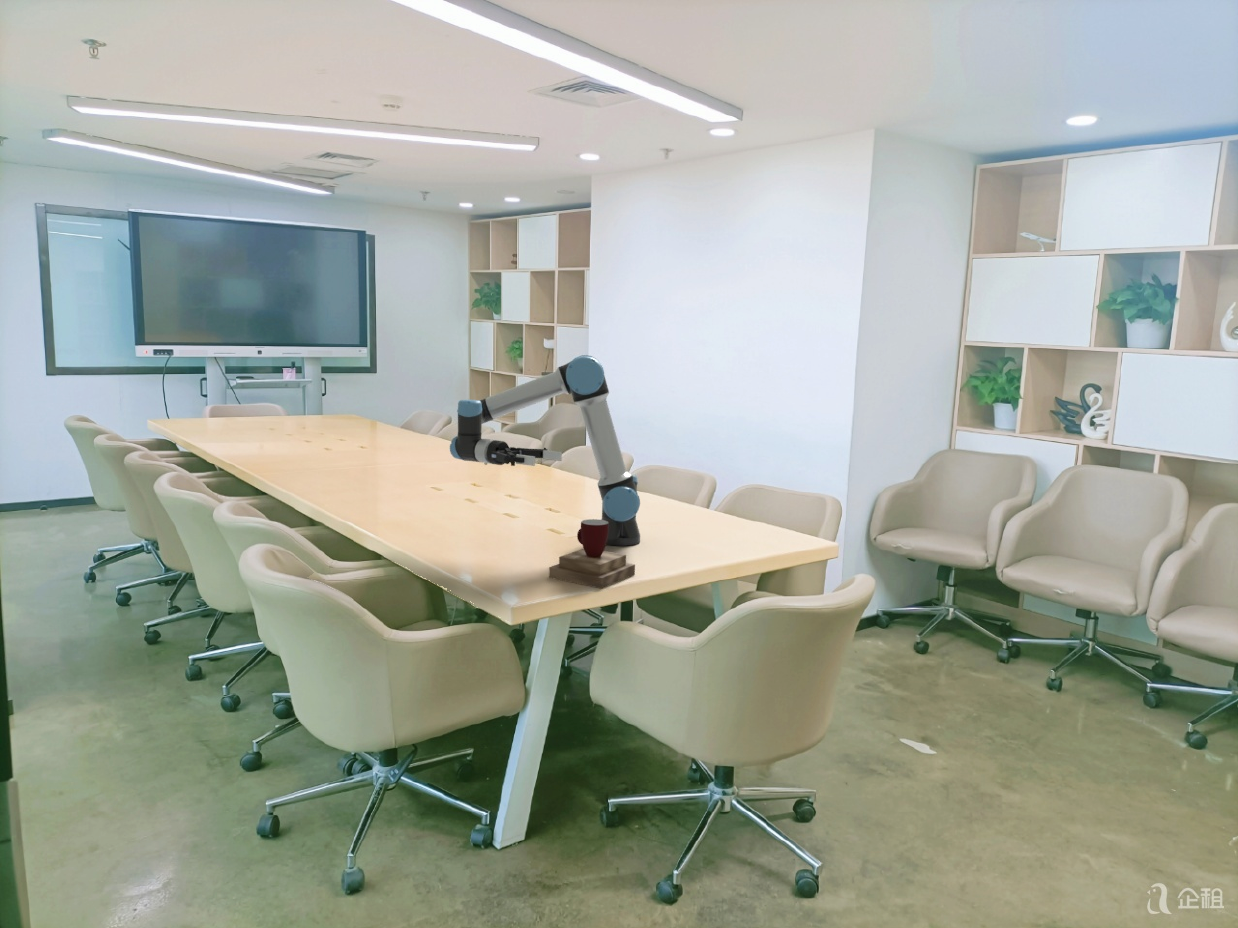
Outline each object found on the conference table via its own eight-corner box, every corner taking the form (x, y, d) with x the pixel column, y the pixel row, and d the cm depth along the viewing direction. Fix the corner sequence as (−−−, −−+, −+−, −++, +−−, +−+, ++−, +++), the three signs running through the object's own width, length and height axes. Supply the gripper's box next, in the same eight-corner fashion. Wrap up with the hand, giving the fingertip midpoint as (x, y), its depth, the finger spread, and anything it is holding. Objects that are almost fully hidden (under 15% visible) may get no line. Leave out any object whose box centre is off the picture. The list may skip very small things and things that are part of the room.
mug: (567, 554, 251) (568, 521, 249) (584, 549, 257) (585, 516, 256) (596, 560, 245) (598, 526, 243) (613, 555, 252) (614, 522, 250)
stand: (583, 564, 264) (584, 545, 263) (634, 574, 254) (635, 554, 254) (549, 577, 248) (549, 557, 248) (601, 588, 239) (602, 567, 238)
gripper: (517, 459, 282) (571, 466, 271) (466, 468, 261) (522, 476, 250) (517, 436, 281) (571, 442, 270) (466, 443, 260) (522, 450, 249)
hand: (548, 458), depth 260 cm, fingers open, 13 cm apart
